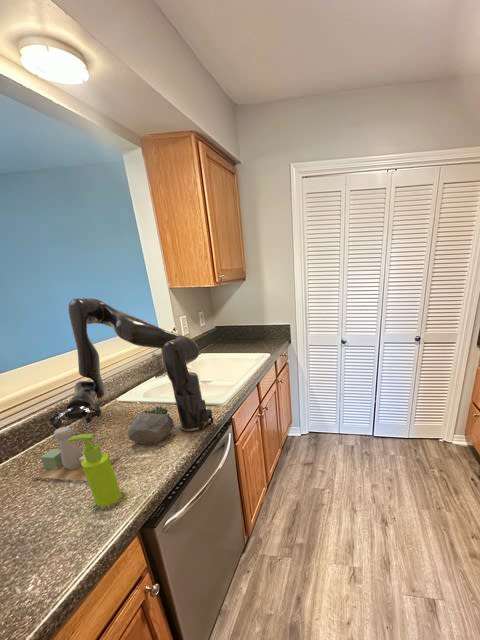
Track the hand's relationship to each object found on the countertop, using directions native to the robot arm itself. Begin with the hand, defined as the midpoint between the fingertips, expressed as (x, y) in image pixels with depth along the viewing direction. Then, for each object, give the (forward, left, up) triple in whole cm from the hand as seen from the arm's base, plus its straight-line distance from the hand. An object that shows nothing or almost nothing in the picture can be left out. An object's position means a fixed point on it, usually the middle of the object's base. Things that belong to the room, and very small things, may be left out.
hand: (72, 423), depth 103 cm
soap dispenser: (-25, +21, -12) cm, 34 cm away
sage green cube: (+2, +8, -11) cm, 13 cm away
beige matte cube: (-11, +8, -11) cm, 17 cm away
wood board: (-5, +8, -12) cm, 15 cm away
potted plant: (-20, -11, -12) cm, 25 cm away
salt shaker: (-4, +8, -11) cm, 14 cm away
